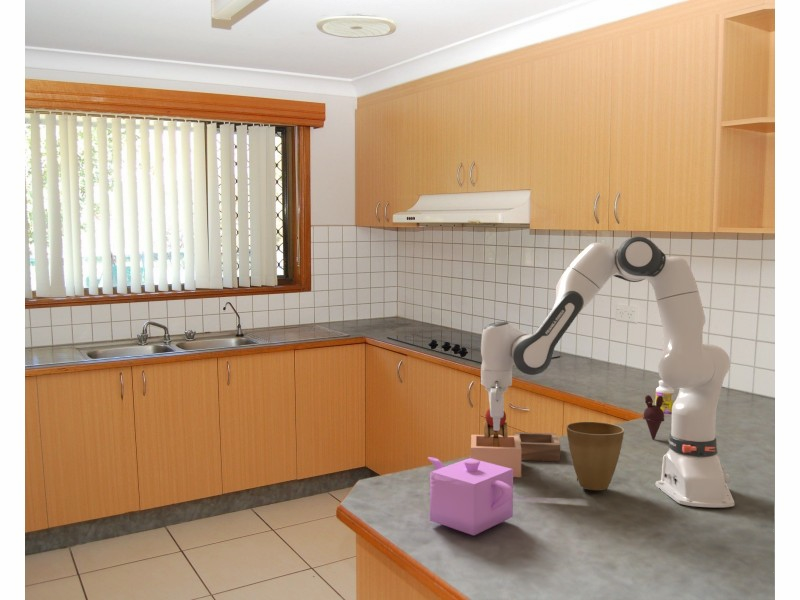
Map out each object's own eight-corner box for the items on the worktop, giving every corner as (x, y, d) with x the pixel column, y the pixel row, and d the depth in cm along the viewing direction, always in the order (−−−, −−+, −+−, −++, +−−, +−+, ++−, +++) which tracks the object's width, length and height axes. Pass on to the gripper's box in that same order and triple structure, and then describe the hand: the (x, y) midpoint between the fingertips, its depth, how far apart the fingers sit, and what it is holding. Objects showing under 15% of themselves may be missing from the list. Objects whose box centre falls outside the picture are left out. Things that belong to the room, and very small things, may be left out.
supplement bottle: (652, 414, 273) (653, 381, 272) (658, 411, 278) (659, 378, 277) (669, 417, 269) (670, 383, 268) (676, 413, 274) (677, 380, 273)
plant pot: (634, 489, 189) (636, 430, 188) (594, 499, 181) (595, 437, 180) (593, 473, 202) (594, 418, 201) (553, 482, 194) (554, 424, 193)
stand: (521, 477, 199) (521, 449, 198) (470, 475, 200) (470, 447, 200) (518, 462, 213) (518, 435, 212) (471, 460, 214) (471, 434, 213)
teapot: (447, 496, 184) (447, 443, 183) (530, 522, 167) (530, 463, 165) (407, 512, 173) (407, 456, 172) (491, 542, 156) (492, 479, 154)
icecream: (644, 442, 234) (645, 397, 233) (640, 436, 241) (641, 392, 240) (666, 443, 233) (667, 397, 232) (661, 437, 240) (662, 393, 239)
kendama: (479, 466, 209) (479, 409, 205) (485, 457, 214) (485, 401, 210) (504, 471, 206) (505, 412, 201) (510, 461, 211) (511, 404, 207)
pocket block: (560, 461, 214) (560, 444, 213) (516, 459, 215) (516, 443, 215) (555, 448, 227) (555, 433, 226) (514, 447, 228) (514, 432, 228)
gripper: (508, 385, 194) (508, 435, 195) (506, 372, 214) (505, 417, 215) (485, 385, 194) (485, 435, 195) (484, 372, 215) (484, 417, 216)
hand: (496, 425), depth 205 cm, fingers open, 8 cm apart
